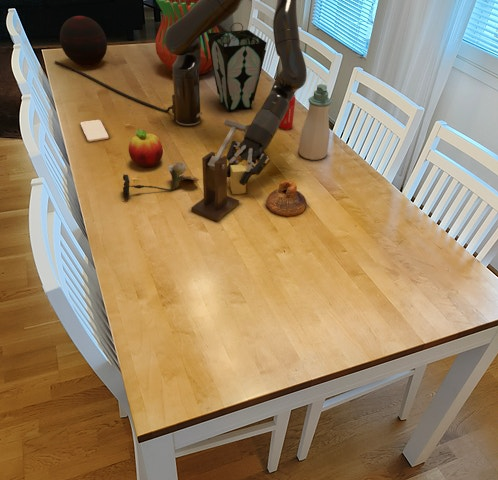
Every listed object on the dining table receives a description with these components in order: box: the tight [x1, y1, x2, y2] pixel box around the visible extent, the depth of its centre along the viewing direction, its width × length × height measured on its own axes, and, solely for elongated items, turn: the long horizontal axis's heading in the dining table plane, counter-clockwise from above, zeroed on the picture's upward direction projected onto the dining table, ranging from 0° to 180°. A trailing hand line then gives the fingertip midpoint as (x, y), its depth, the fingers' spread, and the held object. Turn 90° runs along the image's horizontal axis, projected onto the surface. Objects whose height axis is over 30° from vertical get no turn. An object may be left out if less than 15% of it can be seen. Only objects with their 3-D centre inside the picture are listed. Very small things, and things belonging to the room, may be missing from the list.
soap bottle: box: [298, 83, 332, 161], centre depth 149 cm, size 10×10×23 cm
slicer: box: [190, 151, 240, 223], centre depth 126 cm, size 11×9×16 cm
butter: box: [229, 163, 247, 195], centre depth 136 cm, size 4×4×8 cm
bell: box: [265, 180, 308, 217], centre depth 131 cm, size 12×12×7 cm
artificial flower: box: [122, 161, 199, 199], centre depth 135 cm, size 9×22×10 cm, turn 108°
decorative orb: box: [59, 15, 108, 67], centre depth 206 cm, size 20×20×20 cm
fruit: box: [128, 128, 164, 168], centre depth 145 cm, size 11×11×10 cm
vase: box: [155, 0, 220, 76], centre depth 202 cm, size 30×30×30 cm
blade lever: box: [208, 119, 248, 170], centre depth 122 cm, size 14×7×2 cm
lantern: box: [207, 22, 268, 113], centre depth 174 cm, size 17×17×30 cm
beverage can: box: [279, 93, 296, 131], centre depth 168 cm, size 5×5×12 cm
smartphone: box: [80, 119, 110, 143], centre depth 163 cm, size 7×1×15 cm
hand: (234, 180), depth 135 cm, fingers closed on butter, 5 cm apart
